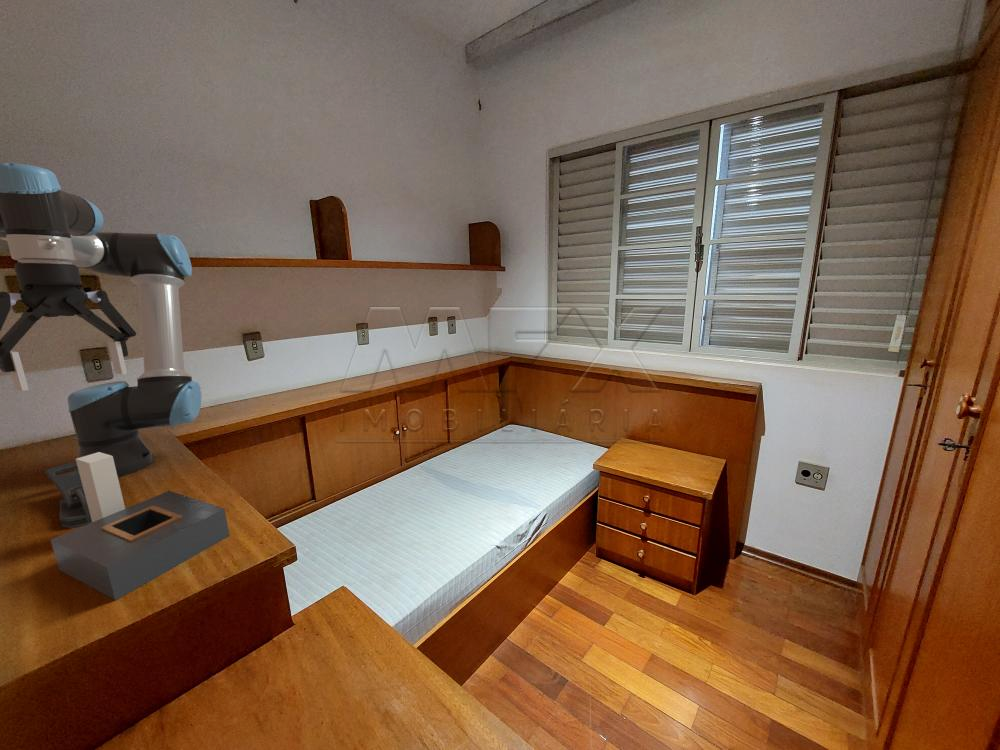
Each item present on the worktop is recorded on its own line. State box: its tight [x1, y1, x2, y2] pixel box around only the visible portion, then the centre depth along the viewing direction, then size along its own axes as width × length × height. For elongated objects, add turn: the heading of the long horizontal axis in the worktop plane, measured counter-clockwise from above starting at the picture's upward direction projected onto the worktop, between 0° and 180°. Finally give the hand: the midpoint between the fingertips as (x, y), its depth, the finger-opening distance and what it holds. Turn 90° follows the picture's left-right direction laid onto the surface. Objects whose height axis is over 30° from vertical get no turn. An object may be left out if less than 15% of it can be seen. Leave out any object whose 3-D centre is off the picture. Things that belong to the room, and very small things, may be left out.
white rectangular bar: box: [75, 452, 126, 522], centre depth 79 cm, size 5×4×16 cm
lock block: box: [50, 490, 230, 601], centre depth 74 cm, size 18×18×6 cm
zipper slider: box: [44, 461, 92, 529], centre depth 91 cm, size 9×7×25 cm
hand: (75, 381), depth 74 cm, fingers open, 13 cm apart
